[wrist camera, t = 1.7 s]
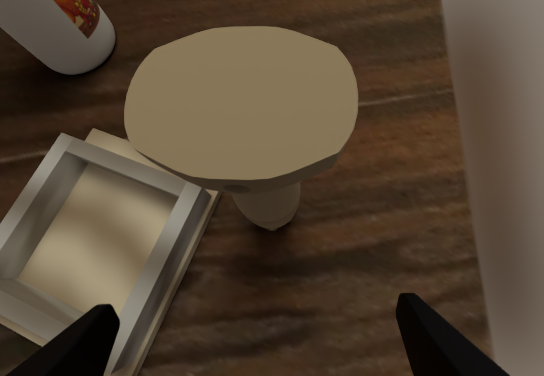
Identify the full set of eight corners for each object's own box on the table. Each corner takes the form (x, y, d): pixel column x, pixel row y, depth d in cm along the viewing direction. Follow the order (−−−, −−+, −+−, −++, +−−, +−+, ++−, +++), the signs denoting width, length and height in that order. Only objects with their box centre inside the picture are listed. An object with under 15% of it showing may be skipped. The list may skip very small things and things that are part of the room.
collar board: (132, 386, 19) (98, 411, 15) (-9, 308, 21) (-66, 315, 18) (227, 181, 23) (216, 165, 19) (100, 133, 25) (71, 112, 22)
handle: (313, 243, 21) (362, 182, 6) (230, 239, 21) (107, 175, 7) (313, 183, 22) (354, 24, 8) (236, 181, 23) (142, 28, 8)
